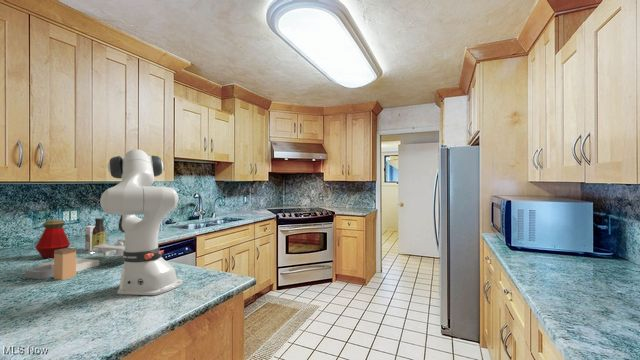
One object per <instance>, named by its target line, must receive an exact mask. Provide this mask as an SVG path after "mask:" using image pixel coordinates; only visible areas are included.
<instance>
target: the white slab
mask: <svg viewBox="0 0 640 360" xmlns="http://www.w3.org/2000/svg"><path fill="white" fill-rule="evenodd" d="M98 266H100V259H93V258H92V259H90V258H80V257H78V258H77V257H76V273H77V272H80V271H84V270H87V269H90V268H95V267H98ZM49 277H54V260H53V261H48V262H44V263H39V264H37V267H33V268H30V269H26V270H24V278H25V279H26V278H27V279H34V280H35V279H36V280H42V279H46V278H49Z"/></svg>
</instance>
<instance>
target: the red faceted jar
mask: <svg viewBox="0 0 640 360" xmlns="http://www.w3.org/2000/svg"><path fill="white" fill-rule="evenodd" d="M43 226H44V228H45V229H44V231H43V233H42V234H41V236H40V238H39V241H38V242H37V244H36V246H35V249H36V252H37V251H38V253H39V255H40V256H41V258H42V259H54V250H59V249H64V248H70V245H71V243H70V241H69V239H68V236H67V234H66V232H65V230H64V228H63V227H64V226H65V221H63V220H62V219H48V220H46V221H45V222H44V223H43Z"/></svg>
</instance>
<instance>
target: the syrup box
mask: <svg viewBox="0 0 640 360" xmlns="http://www.w3.org/2000/svg"><path fill="white" fill-rule="evenodd" d="M94 227H95V224H90V225H87V226H86V225H85V229H84V230H85V232H84V233H85V234H84V236H85V237H84V238H85V241H84V243H85V244H84V245H85V246H84V247H85V250H86V251H90V250H92V249H91V248H92V231H93V228H94Z"/></svg>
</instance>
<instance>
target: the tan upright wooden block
mask: <svg viewBox="0 0 640 360" xmlns="http://www.w3.org/2000/svg"><path fill="white" fill-rule="evenodd" d="M76 258H77V248H76V247H75V248H74V247H68V248H64V249H59V250H54V258H53V261H54V276H53V279H54V280H59V281H60V280H61V281H64V280H66V279H67V280H68V279H71V278H75V277H76V276H77V272H76Z"/></svg>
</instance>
